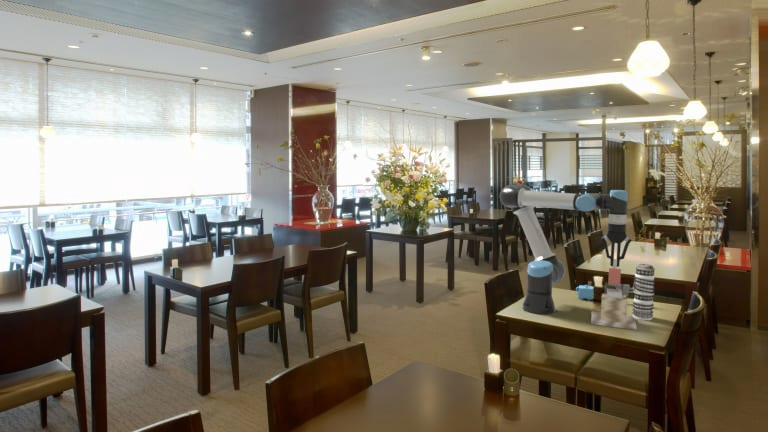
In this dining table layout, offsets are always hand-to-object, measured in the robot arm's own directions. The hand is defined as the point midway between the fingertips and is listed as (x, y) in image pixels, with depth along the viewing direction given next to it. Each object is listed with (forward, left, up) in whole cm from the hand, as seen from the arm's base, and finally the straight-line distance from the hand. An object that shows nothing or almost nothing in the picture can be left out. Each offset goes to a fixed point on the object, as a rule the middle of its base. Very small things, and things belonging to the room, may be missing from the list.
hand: (614, 273), depth 234 cm
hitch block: (0, -10, -20) cm, 23 cm away
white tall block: (0, -10, -18) cm, 21 cm away
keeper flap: (0, -4, -1) cm, 4 cm away
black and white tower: (+13, +3, -21) cm, 25 cm away
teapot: (-11, +28, -21) cm, 36 cm away
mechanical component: (+7, +26, -21) cm, 34 cm away
